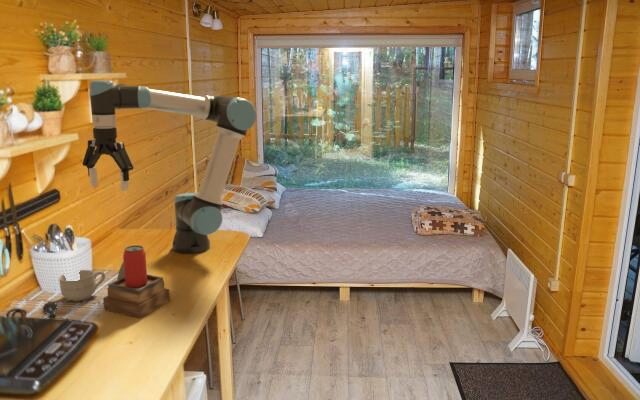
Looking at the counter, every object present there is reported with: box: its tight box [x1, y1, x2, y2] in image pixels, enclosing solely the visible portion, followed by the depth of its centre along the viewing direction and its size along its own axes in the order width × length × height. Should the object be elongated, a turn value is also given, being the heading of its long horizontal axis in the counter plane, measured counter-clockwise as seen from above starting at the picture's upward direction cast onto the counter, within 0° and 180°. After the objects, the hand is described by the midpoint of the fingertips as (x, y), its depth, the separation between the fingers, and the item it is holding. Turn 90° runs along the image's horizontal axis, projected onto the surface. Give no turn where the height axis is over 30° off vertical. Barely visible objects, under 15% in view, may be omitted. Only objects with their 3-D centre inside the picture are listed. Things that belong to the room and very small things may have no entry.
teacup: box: [58, 269, 106, 302], centre depth 180 cm, size 14×11×8 cm
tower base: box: [103, 274, 171, 319], centre depth 174 cm, size 14×14×8 cm
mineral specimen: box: [116, 260, 125, 280], centre depth 194 cm, size 7×9×8 cm
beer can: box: [122, 244, 148, 288], centre depth 172 cm, size 7×7×12 cm
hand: (109, 188), depth 193 cm, fingers open, 13 cm apart
